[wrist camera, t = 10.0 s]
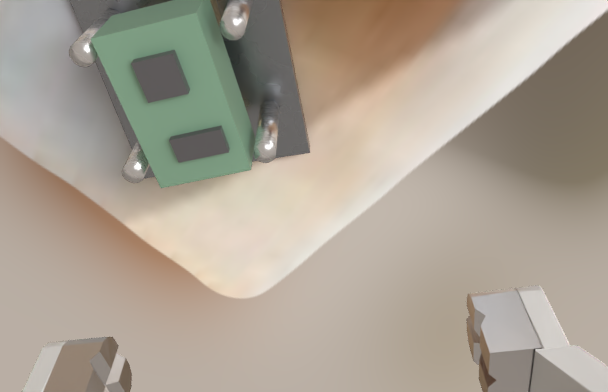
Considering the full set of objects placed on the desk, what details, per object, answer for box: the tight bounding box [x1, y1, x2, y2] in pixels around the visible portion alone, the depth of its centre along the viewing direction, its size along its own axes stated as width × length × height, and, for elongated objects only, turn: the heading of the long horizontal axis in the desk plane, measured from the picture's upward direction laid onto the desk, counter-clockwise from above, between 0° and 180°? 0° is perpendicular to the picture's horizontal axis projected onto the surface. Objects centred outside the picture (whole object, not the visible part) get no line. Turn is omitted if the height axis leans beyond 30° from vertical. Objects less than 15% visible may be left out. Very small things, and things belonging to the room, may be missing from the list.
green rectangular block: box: [91, 0, 256, 188], centre depth 33 cm, size 10×6×5 cm, turn 14°
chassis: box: [69, 0, 310, 183], centre depth 35 cm, size 16×13×7 cm
